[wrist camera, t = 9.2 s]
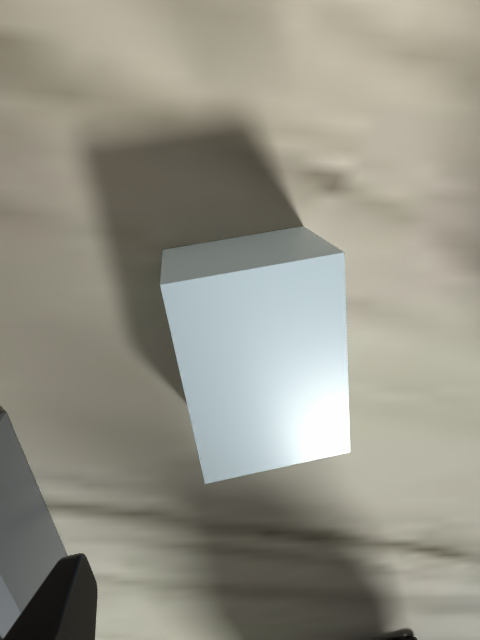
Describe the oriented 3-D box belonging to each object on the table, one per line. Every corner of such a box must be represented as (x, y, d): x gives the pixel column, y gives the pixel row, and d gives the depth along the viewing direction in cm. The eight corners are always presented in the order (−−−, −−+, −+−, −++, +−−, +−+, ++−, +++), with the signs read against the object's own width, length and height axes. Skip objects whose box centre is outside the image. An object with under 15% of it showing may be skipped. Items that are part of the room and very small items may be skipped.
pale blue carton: (313, 388, 18) (350, 452, 14) (197, 411, 17) (205, 484, 14) (301, 225, 15) (344, 252, 11) (162, 248, 14) (159, 284, 11)
